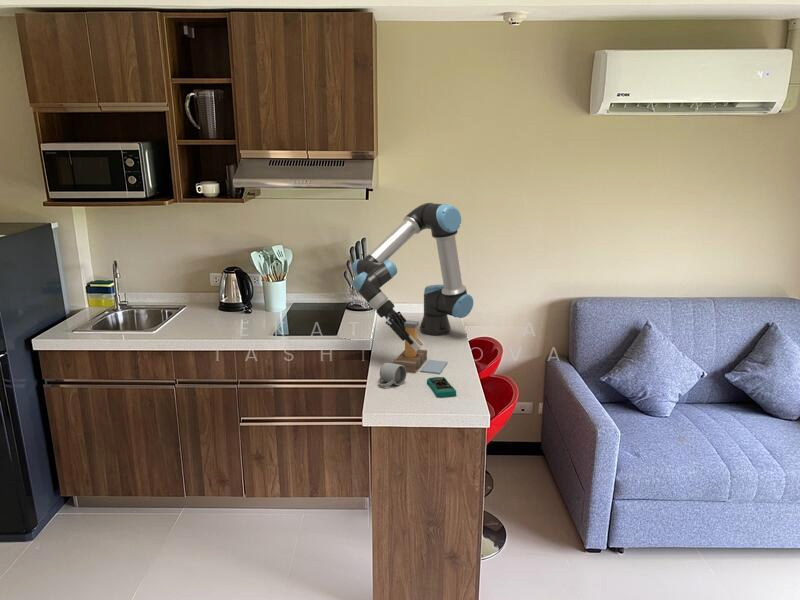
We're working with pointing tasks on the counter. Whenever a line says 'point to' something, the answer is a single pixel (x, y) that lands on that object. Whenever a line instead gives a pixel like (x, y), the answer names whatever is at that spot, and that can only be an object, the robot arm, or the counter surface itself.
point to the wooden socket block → (412, 361)
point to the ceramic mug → (392, 374)
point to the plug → (411, 330)
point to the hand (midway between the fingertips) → (419, 347)
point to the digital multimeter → (441, 387)
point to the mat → (434, 366)
